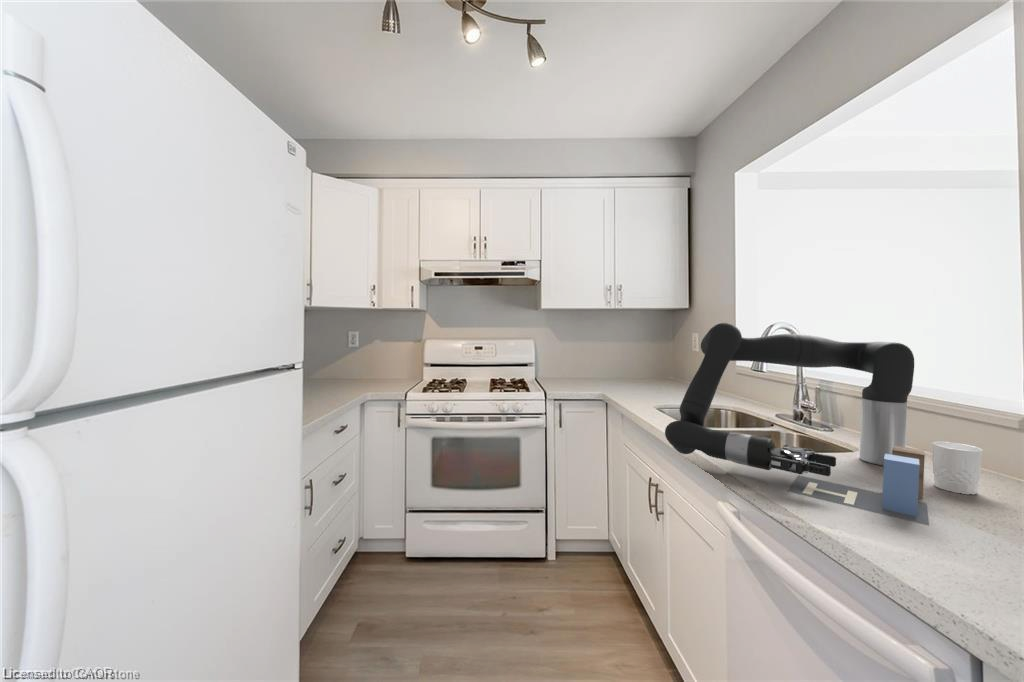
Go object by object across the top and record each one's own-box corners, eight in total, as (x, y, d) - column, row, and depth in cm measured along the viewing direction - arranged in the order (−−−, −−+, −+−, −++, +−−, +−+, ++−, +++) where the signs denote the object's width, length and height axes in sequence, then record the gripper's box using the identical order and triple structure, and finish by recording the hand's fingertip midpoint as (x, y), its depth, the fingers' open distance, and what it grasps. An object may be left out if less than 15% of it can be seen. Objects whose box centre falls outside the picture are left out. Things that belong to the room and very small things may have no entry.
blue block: (883, 501, 85) (885, 453, 85) (916, 508, 81) (919, 459, 81) (882, 508, 81) (884, 458, 81) (917, 516, 78) (919, 464, 78)
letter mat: (798, 477, 100) (798, 475, 100) (926, 505, 84) (926, 502, 84) (786, 493, 90) (786, 490, 90) (929, 528, 74) (929, 525, 74)
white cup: (939, 491, 92) (941, 447, 92) (924, 480, 99) (926, 439, 99) (989, 498, 88) (991, 453, 88) (969, 486, 95) (971, 444, 95)
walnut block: (891, 488, 93) (892, 445, 93) (921, 495, 90) (923, 450, 90) (890, 494, 90) (892, 449, 90) (922, 501, 86) (924, 455, 86)
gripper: (741, 440, 95) (829, 456, 83) (757, 430, 105) (838, 443, 94) (740, 472, 95) (828, 492, 84) (756, 459, 105) (836, 475, 94)
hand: (833, 466), depth 89 cm, fingers open, 8 cm apart
